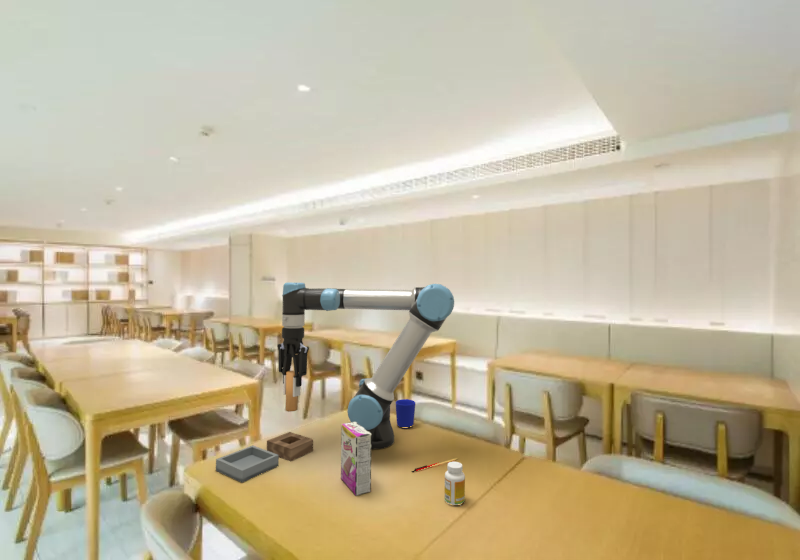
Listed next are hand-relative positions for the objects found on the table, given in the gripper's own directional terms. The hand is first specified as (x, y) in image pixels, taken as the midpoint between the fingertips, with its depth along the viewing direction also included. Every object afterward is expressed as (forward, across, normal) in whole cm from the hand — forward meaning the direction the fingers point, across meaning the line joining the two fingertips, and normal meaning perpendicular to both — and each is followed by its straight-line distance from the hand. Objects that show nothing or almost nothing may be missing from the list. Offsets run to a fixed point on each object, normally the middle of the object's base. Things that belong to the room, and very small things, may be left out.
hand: (291, 394), depth 134 cm
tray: (+19, -1, -16) cm, 25 cm away
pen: (+20, +46, +20) cm, 54 cm away
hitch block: (+20, 0, 0) cm, 20 cm away
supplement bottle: (+20, +60, +4) cm, 63 cm away
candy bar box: (+20, +33, -5) cm, 39 cm away
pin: (+5, 0, 0) cm, 5 cm away
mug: (+20, +18, +46) cm, 53 cm away
